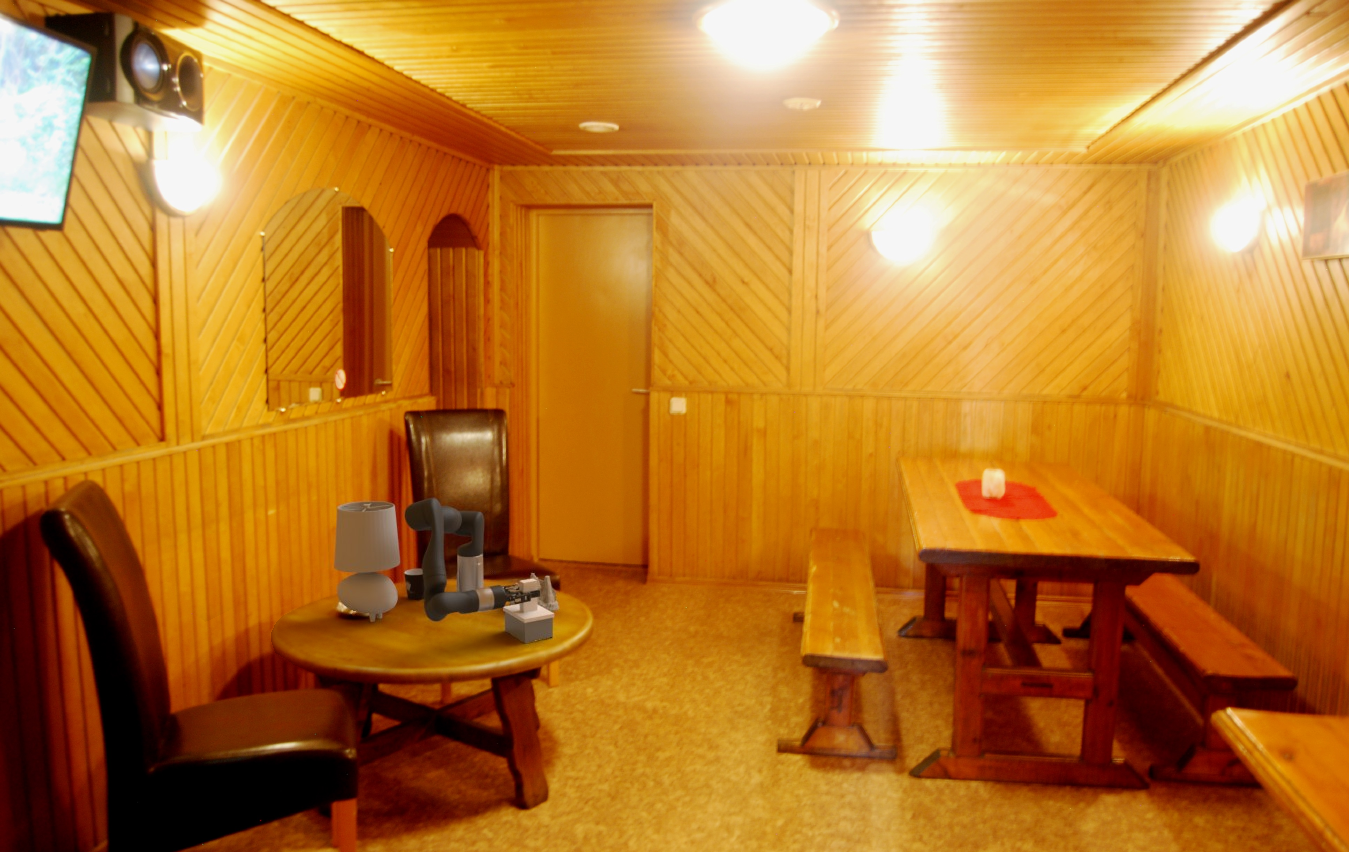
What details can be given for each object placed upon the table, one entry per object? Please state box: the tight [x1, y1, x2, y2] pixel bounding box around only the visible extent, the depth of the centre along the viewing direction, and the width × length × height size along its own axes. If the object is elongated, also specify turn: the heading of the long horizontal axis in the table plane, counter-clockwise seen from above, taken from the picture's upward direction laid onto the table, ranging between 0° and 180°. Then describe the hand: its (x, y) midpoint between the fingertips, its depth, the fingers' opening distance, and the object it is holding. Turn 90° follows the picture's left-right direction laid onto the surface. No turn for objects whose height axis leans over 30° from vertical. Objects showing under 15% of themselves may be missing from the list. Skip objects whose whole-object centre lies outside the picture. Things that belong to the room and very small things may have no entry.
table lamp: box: [333, 500, 401, 623], centre depth 323 cm, size 23×22×40 cm
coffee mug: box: [403, 568, 425, 601], centre depth 347 cm, size 12×9×10 cm
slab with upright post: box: [502, 578, 555, 623], centre depth 309 cm, size 11×16×13 cm
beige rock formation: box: [508, 572, 560, 613], centre depth 338 cm, size 16×16×15 cm
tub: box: [504, 611, 554, 644], centre depth 310 cm, size 10×15×7 cm, turn 36°
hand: (534, 590), depth 310 cm, fingers open, 6 cm apart
